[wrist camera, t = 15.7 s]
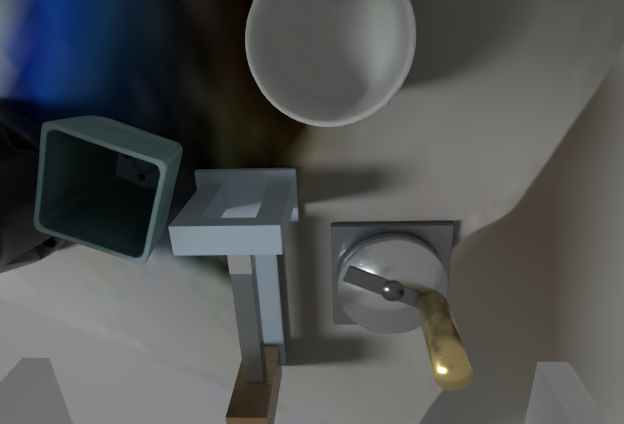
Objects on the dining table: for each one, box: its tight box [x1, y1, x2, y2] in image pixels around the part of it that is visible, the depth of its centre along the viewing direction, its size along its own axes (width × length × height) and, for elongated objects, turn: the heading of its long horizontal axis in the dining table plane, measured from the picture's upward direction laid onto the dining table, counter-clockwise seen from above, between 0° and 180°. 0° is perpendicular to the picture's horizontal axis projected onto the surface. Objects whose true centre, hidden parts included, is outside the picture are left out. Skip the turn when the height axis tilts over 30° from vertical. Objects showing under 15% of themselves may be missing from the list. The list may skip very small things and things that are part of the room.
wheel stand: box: [331, 222, 454, 324], centre depth 43 cm, size 11×11×1 cm
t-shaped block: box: [168, 167, 299, 364], centre depth 41 cm, size 22×9×9 cm, turn 2°
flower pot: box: [33, 116, 183, 263], centre depth 36 cm, size 9×9×9 cm
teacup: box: [245, 0, 416, 127], centre depth 31 cm, size 14×11×8 cm
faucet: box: [338, 233, 474, 391], centre depth 38 cm, size 10×10×11 cm
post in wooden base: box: [226, 255, 282, 424], centre depth 41 cm, size 18×4×9 cm, turn 2°
